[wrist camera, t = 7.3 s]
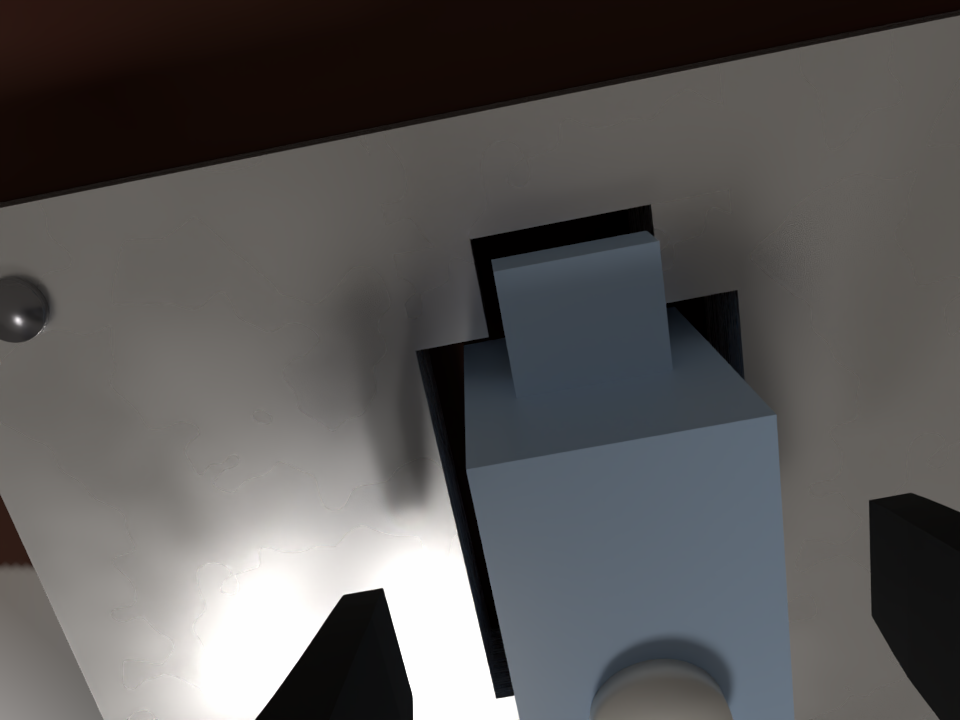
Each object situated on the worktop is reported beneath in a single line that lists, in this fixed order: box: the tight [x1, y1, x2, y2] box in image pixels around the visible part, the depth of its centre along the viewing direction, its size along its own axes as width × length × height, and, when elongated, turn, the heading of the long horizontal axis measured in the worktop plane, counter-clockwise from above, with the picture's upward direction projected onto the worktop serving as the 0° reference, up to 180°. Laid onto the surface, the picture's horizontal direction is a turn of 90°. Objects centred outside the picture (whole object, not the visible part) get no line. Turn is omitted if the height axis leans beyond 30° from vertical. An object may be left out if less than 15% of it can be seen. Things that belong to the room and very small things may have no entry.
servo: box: [464, 231, 794, 720], centre depth 13 cm, size 4×10×5 cm, turn 11°
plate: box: [0, 10, 960, 720], centre depth 15 cm, size 20×14×2 cm
